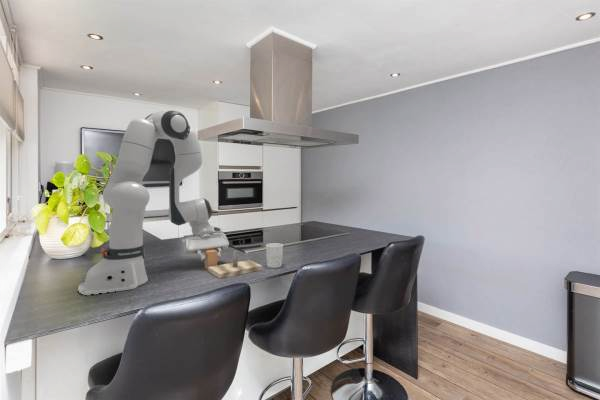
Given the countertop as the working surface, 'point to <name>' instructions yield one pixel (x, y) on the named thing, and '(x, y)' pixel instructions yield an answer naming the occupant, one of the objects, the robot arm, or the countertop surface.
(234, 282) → the countertop surface
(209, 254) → the orange brown wooden block
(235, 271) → the post base
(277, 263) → the white cup
